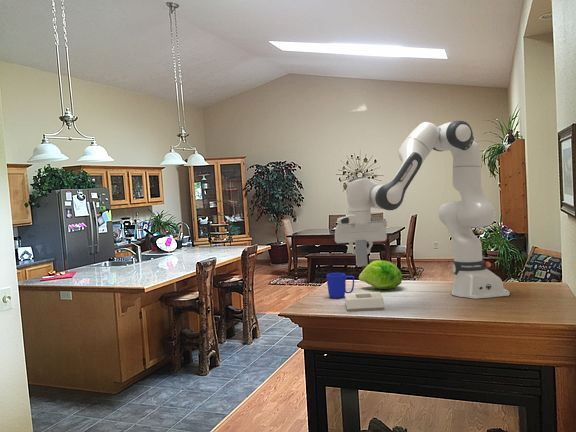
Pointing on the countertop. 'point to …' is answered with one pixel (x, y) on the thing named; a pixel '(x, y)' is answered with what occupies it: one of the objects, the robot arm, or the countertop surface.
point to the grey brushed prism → (361, 253)
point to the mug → (337, 284)
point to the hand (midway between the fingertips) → (361, 253)
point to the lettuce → (381, 275)
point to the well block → (364, 301)
